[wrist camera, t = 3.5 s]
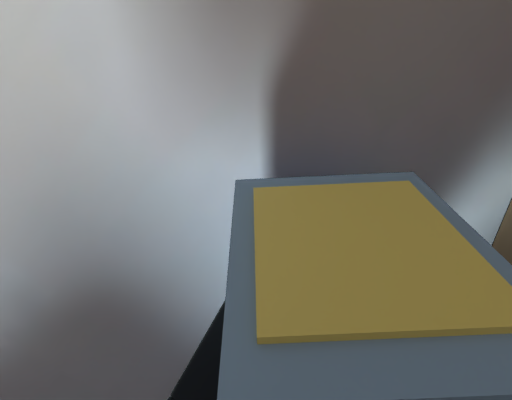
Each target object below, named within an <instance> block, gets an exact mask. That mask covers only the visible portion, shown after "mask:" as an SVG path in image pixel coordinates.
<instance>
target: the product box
mask: <svg viewBox="0 0 512 400" xmlns="http://www.w3.org/2000/svg"><path fill="white" fill-rule="evenodd" d="M217 400H512V265H511V264H510V263H509V262H508V261H507V260H506V259H505V258H504V257H503V256H502V255H501V254H499V253H498V252H497V251H496V250H495V249H494V248H493V247H492V246H491V245H490V244H489V243H488V242H487V241H486V240H485V239H484V238H483V237H482V236H480V235H479V234H478V233H477V232H476V231H475V230H474V229H473V228H472V227H471V226H470V225H469V224H468V223H467V222H466V221H465V220H464V219H463V218H461V217H460V216H459V215H458V214H457V213H456V212H455V211H454V210H453V209H452V208H451V207H450V206H449V205H448V204H447V203H446V202H445V201H444V200H442V199H441V198H440V197H439V196H438V195H437V194H436V193H435V192H434V191H433V190H432V189H431V188H430V187H429V186H428V185H427V184H426V183H425V182H423V181H422V180H421V179H420V178H419V177H418V176H417V175H416V174H415V173H414V172H396V173H374V174H352V175H331V176H309V177H288V178H266V179H244V180H236V181H235V193H234V205H233V216H232V228H231V240H230V252H229V264H228V275H227V287H226V299H225V311H224V323H223V334H222V346H221V358H220V370H219V382H218V393H217Z"/></svg>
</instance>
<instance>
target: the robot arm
mask: <svg viewBox="0 0 512 400" xmlns="http://www.w3.org/2000/svg"><path fill="white" fill-rule="evenodd" d="M224 311H225V301H224V303H223V305H222V306H221V308H220V310H219V312H218V313H217V315H216V317H215V319H214V320H213V322H212V324H211V326H210V327H209V329H208V331H207V332H206V334H205V336H204V338H203V339H202V341H201V343H200V345H199V346H198V348H197V350H196V352H195V353H194V355H193V357H192V359H191V360H190V362H189V364H188V365H187V367H186V369H185V371H184V372H183V374H182V376H181V378H180V379H179V381H178V383H177V385H176V386H175V388H174V390H173V391H172V393H171V397H169V398H168V400H217V393H218V382H219V370H220V358H221V346H222V334H223V323H224Z"/></svg>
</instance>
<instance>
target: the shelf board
mask: <svg viewBox="0 0 512 400" xmlns="http://www.w3.org/2000/svg"><path fill="white" fill-rule="evenodd" d="M492 247H493V248H494V249H495V250H496V251H497V252H498V253H499V254H501V255H502V256H503V257H504V258H505V259H506V260H507V261H508V262H509V263H510V264H511V265H512V200H511V202H510V205H509V207H508V209H507V212H506V214H505V216H504V219H503V221H502V224H501V226H500V228H499V231H498V233H497V235H496V238H495V240H494V243H493V245H492Z"/></svg>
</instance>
